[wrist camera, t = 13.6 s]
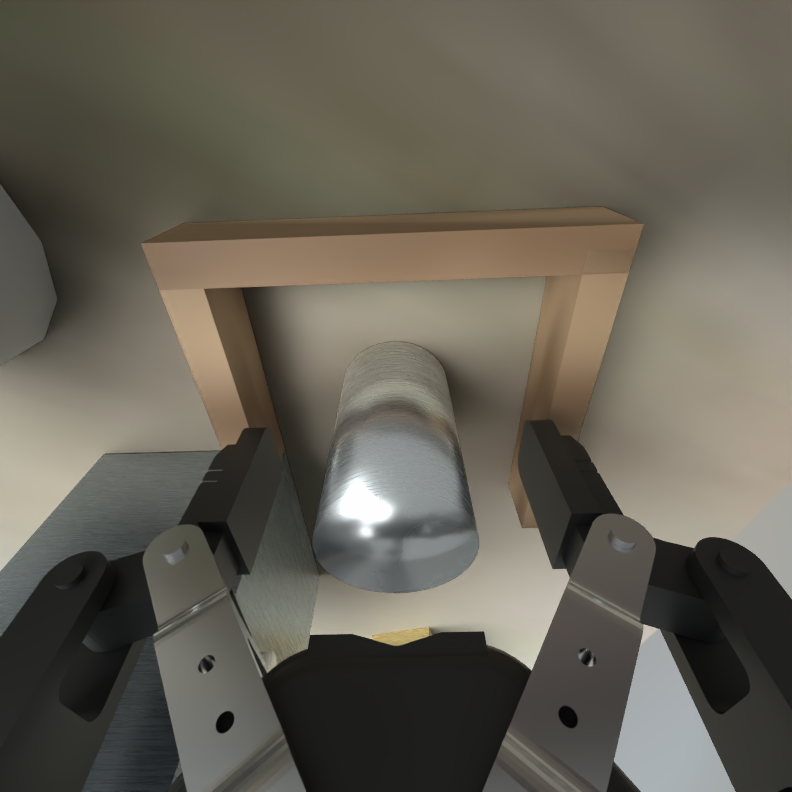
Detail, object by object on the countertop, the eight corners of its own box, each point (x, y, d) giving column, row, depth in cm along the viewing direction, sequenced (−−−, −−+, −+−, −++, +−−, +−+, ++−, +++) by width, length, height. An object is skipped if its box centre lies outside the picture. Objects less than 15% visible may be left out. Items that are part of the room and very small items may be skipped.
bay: (534, 483, 18) (551, 527, 16) (270, 490, 18) (255, 534, 16) (601, 206, 11) (643, 223, 9) (183, 222, 12) (140, 243, 10)
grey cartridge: (445, 425, 16) (472, 591, 10) (349, 429, 16) (324, 594, 11) (449, 339, 14) (487, 490, 8) (337, 343, 14) (297, 495, 8)
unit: (333, 576, 23) (285, 923, 13) (175, 579, 23) (9, 925, 13) (303, 448, 17) (174, 900, 7) (93, 454, 17) (-315, 903, 7)
